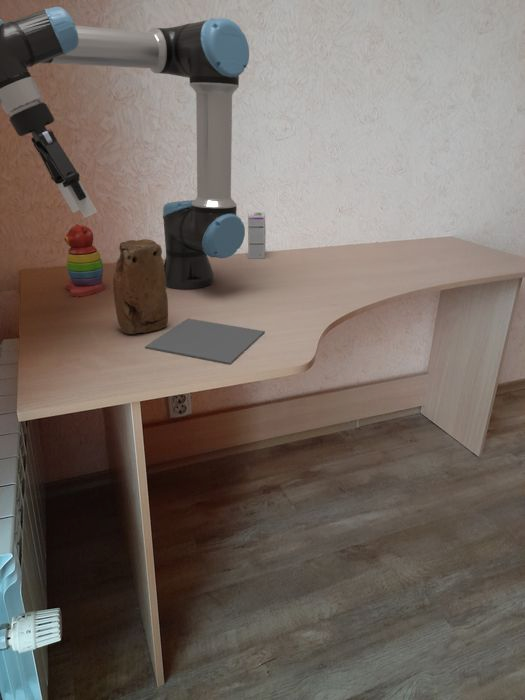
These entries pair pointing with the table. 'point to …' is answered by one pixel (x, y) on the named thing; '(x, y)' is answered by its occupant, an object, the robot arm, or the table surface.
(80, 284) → the stacking bear
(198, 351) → the mat
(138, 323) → the block
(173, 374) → the table surface
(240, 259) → the table surface
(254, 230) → the syrup box
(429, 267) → the table surface
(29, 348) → the table surface
